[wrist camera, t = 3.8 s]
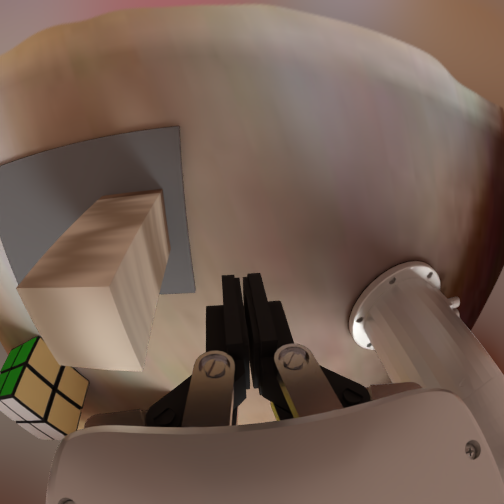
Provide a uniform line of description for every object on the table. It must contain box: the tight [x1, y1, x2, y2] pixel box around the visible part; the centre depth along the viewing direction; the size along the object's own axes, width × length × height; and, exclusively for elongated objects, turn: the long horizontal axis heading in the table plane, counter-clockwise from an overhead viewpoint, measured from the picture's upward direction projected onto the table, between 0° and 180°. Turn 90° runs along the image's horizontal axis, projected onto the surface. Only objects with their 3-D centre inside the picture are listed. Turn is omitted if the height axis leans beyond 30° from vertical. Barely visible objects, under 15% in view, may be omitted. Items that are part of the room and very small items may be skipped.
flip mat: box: [0, 126, 196, 294], centre depth 20 cm, size 20×14×1 cm
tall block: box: [16, 189, 171, 372], centre depth 15 cm, size 5×5×12 cm
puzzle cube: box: [0, 336, 89, 440], centre depth 24 cm, size 10×10×10 cm
